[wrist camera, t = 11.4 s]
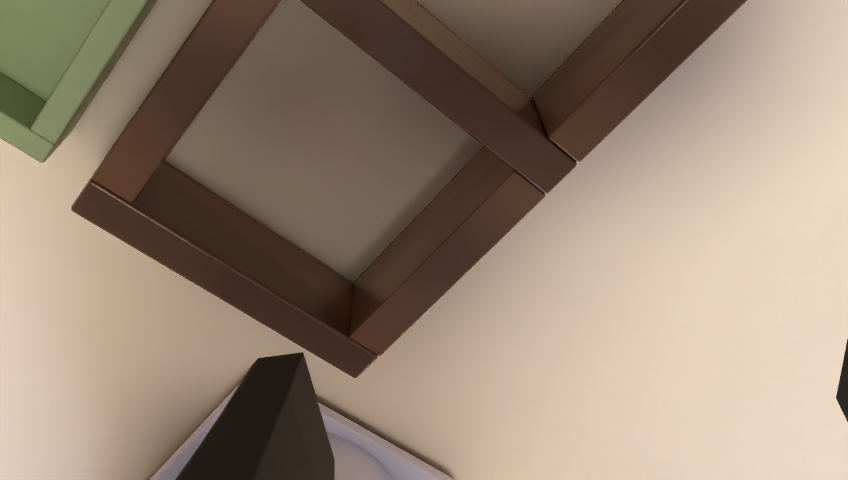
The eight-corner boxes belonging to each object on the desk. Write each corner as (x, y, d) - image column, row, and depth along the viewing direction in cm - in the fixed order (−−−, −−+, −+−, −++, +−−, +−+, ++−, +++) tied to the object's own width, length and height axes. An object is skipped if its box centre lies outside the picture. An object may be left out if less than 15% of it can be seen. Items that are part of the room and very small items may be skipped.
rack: (359, 323, 22) (355, 380, 20) (103, 162, 19) (68, 210, 17) (796, -119, 16) (855, -102, 14) (523, -446, 13) (546, -485, 11)
